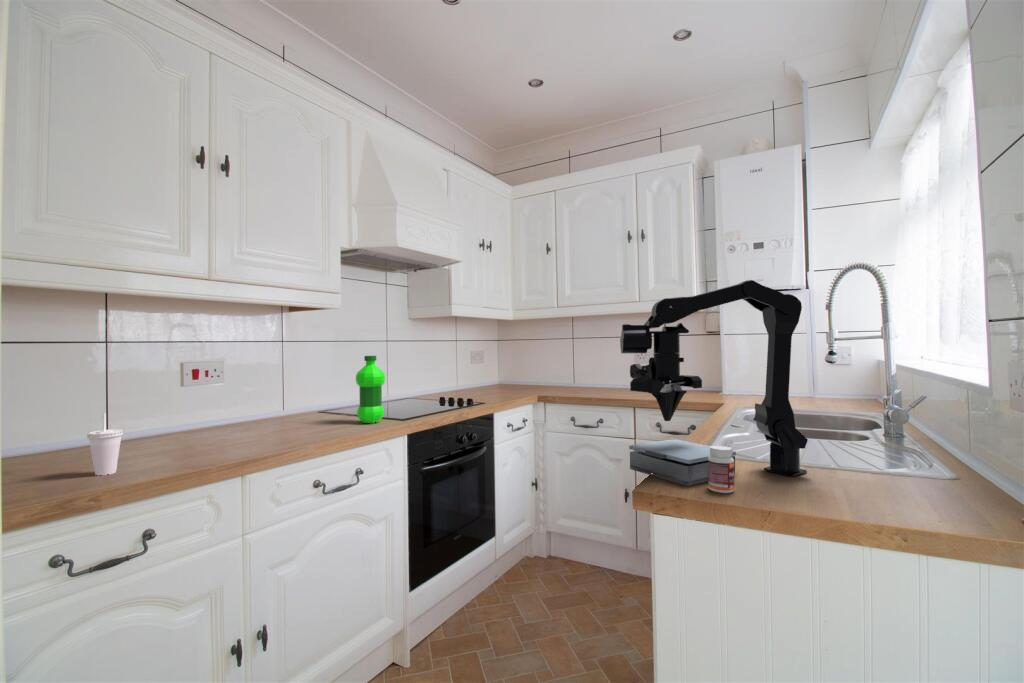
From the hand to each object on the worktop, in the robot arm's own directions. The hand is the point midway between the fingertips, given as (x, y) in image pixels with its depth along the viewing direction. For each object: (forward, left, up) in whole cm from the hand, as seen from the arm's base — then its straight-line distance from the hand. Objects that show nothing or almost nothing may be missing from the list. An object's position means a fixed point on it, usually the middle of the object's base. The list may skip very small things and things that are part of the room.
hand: (667, 420), depth 110 cm
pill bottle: (+3, +16, -11) cm, 20 cm away
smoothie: (+110, -69, -11) cm, 130 cm away
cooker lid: (-1, +3, -7) cm, 7 cm away
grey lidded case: (-1, +3, -11) cm, 12 cm away
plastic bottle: (+39, -105, -11) cm, 113 cm away
